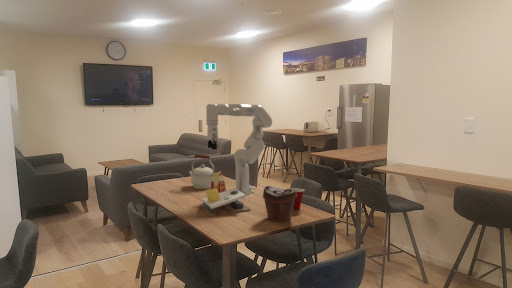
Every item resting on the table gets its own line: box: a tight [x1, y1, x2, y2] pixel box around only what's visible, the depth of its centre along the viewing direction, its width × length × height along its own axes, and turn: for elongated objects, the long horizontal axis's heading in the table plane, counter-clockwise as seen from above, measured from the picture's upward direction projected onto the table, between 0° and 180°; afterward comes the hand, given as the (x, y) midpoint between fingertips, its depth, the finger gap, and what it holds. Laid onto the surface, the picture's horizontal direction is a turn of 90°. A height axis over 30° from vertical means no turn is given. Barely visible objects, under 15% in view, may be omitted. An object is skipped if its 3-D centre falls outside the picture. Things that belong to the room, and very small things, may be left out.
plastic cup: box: [287, 187, 305, 210], centre depth 221 cm, size 11×11×12 cm
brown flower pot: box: [262, 185, 298, 223], centre depth 201 cm, size 18×20×18 cm
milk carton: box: [210, 170, 227, 193], centre depth 238 cm, size 9×9×20 cm
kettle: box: [188, 154, 215, 190], centre depth 277 cm, size 25×18×25 cm
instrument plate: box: [201, 187, 247, 209], centre depth 218 cm, size 22×18×8 cm
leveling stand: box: [198, 200, 251, 217], centre depth 219 cm, size 26×20×4 cm
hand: (212, 148), depth 239 cm, fingers open, 9 cm apart
